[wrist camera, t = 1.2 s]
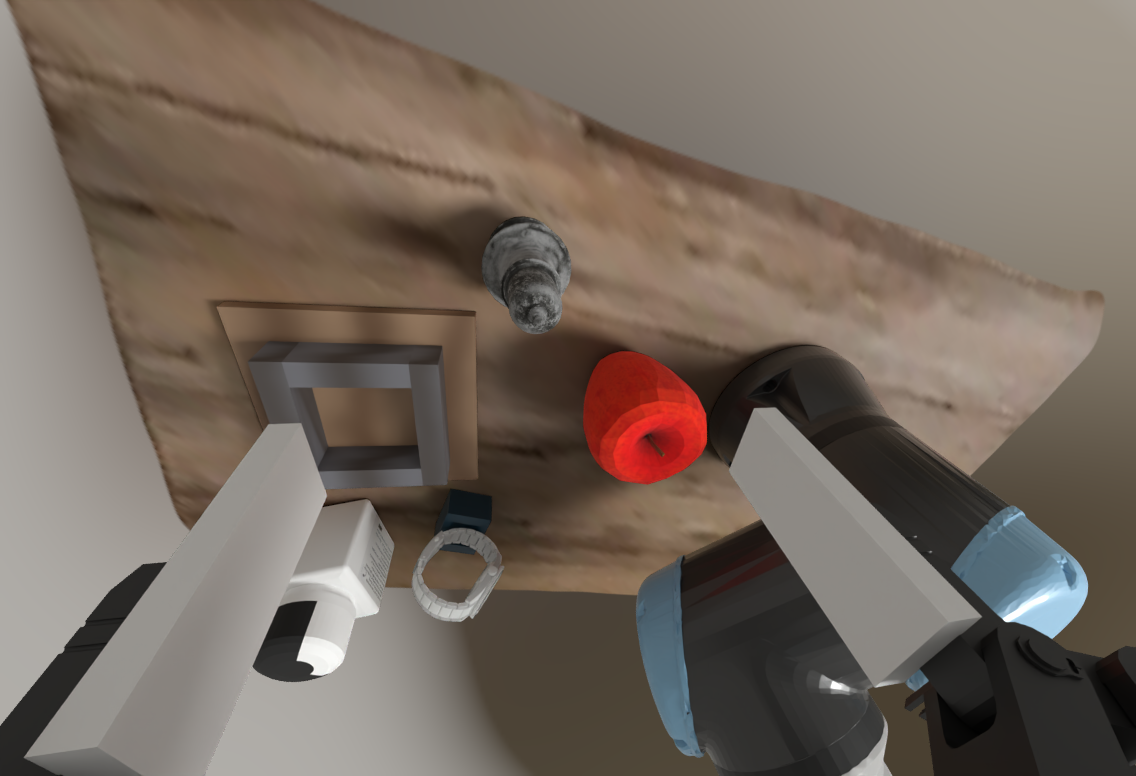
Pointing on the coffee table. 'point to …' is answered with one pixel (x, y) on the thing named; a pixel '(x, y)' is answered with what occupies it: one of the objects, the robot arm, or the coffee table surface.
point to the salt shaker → (527, 272)
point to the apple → (642, 419)
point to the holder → (365, 387)
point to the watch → (463, 534)
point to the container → (328, 593)
